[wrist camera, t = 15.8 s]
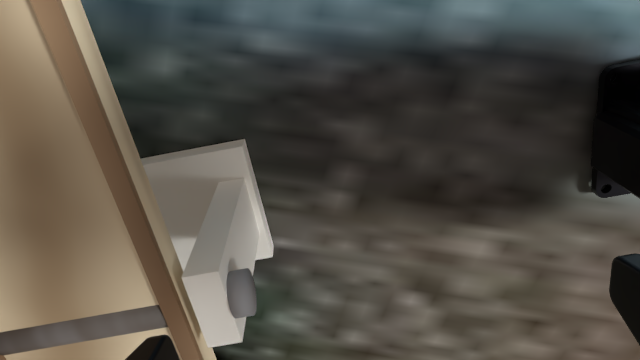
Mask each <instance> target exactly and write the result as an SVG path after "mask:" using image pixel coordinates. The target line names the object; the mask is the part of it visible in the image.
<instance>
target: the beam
mask: <svg viewBox="0 0 640 360" xmlns="http://www.w3.org/2000/svg"><path fill="white" fill-rule="evenodd" d="M182 275H183V269H182V267H181V264H180V262H179V259H178V256H177V254H176V251H175V248H174V246H173V243H172V240H171V238H170V235H169V233H168V230H167V227H166V225H165V222H164V219H163V217H162V214H161V212H160V209H159V206H158V204H157V201H156V198H155V196H154V193H153V190H152V188H151V185H150V183H149V180H148V177H147V175H146V172H145V169H144V167H143V164H142V162H141V159H140V156H139V154H138V151H137V148H136V146H135V143H134V140H133V138H132V135H131V133H130V130H129V127H128V125H127V122H126V119H125V117H124V114H123V112H122V109H121V106H120V104H119V101H118V98H117V96H116V93H115V90H114V88H113V85H112V83H111V80H110V77H109V75H108V72H107V69H106V67H105V64H104V62H103V59H102V56H101V54H100V51H99V48H98V46H97V43H96V40H95V38H94V35H93V33H92V30H91V27H90V25H89V22H88V19H87V17H86V14H85V12H84V9H83V6H82V4H81V1H80V0H0V360H125V359H126V358H127V357H128V356H129V355H130V354H131V353H132V352H133V351H134V350H135V349H136V348H137V347H138V346H139V345H140V344H141V343H142V342H143V341H144V340H146V339H147V338H149V337H152V336H158V335H164V334H165V335H168V336H169V337H170V338H171V340H172V342H173V344H174V347H175V349H176V351H177V354H178V356H179V358H180V360H217V359H216V356H215V354H214V351H213V348H212V347H210V348H208V346H207V344H206V341H205V338H204V336H203V333H202V331H201V328H200V325H199V323H198V320H197V317H196V315H195V312H194V310H193V307H192V304H191V302H190V299H189V297H188V294H187V291H186V289H185V286H184V284H183V281H182V278H181V277H182Z"/></svg>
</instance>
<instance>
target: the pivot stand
mask: <svg viewBox="0 0 640 360" xmlns="http://www.w3.org/2000/svg"><path fill="white" fill-rule="evenodd" d="M141 162H142V164H143V167H144V169H145V172H146V175H147V177H148V180H149V183H150V185H151V188H152V190H153V193H154V196H155V198H156V201H157V204H158V206H159V209H160V212H161V214H162V217H163V219H164V222H165V225H166V227H167V230H168V233H169V235H170V238H171V240H172V243H173V246H174V248H175V251H176V254H177V256H178V259H179V262H180V264H181V267H182V269H183V275H182V277H181V278H182V281H183V284H184V286H185V289H186V291H187V294H188V297H189V299H190V302H191V304H192V307H193V310H194V312H195V315H196V317H197V320H198V323H199V325H200V328H201V331H202V333H203V336H204V338H205V341H206V344H207V346H208V348H210V347H216V346H222V345H228V344H234V343H240V342H242V340H243V334H244V328H245V322H246V317H248V316H254V315H255V313H256V307H257V299H256V289H255V284H254V279H253V271H254V265H255V260H259V259H264V258H270V257H273V248H274V245H273V242H272V238H271V234H270V230H269V227H268V223H267V219H266V216H265V212H264V208H263V204H262V201H261V197H260V193H259V190H258V186H257V182H256V178H255V175H254V171H253V167H252V164H251V160H250V156H249V152H248V149H247V145H246V141H245V139H241V140H236V141H231V142H225V143H220V144H215V145H210V146H204V147H199V148H194V149H189V150H183V151H178V152H173V153H167V154H162V155H157V156H152V157H146V158H141Z"/></svg>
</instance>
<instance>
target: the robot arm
mask: <svg viewBox="0 0 640 360" xmlns="http://www.w3.org/2000/svg"><path fill="white" fill-rule="evenodd" d="M614 73H616V78H615V79H614V80H613V81H610V79H611V76H612V75H613V74H614ZM591 166H592V167H593V171H592V185H591V188H592V191H593V192H594V193H595V194H596V195H597V196H599V197H601V198H607V197H612V196H618V195H624V194H629V193H632V194H634V195H635V196H637V197H638V198H640V60H637V61H631V62H626V63H621V64H616V65H611V66H608V67H606V68H605V69H604V70H603V71H602V73H601V74H600V78H599V89H598V103H597V115H596V116H595V118H594V127H593V141H592V155H591ZM606 184H607V185H606ZM604 185H606V187H605V188H604V189H602V190H601V188H602V187H603V186H604ZM609 292H610V297H611V300H612V302H613V304H614V305H615V307H616V308H617V310H618V312H619V313H620V315H621V316H622V318H623V320H624V321H625V323H626V324H627V326H628V328H629V329H630V331H631V332H632V334H633V335H634V337H635V339H636V340H637V342H638V343H639V345H640V254H629V255H623V256H618V257H616V258H614V260H613V262H612V268H611V278H610V287H609ZM125 360H180V358H179V356H178V354H177V351H176V349H175V347H174V344H173V342H172V340H171V338H170V337H169V336H168V335H165V334H164V335H158V336H152V337H149V338H147V339H146V340H144V341H143V342H142V343H141V344H140V345H139V346H138V347H137V348H136V349H135V350H134V351H133V352H132V353H131V354H130V355H129V356H128V357H127V358H126V359H125Z"/></svg>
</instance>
